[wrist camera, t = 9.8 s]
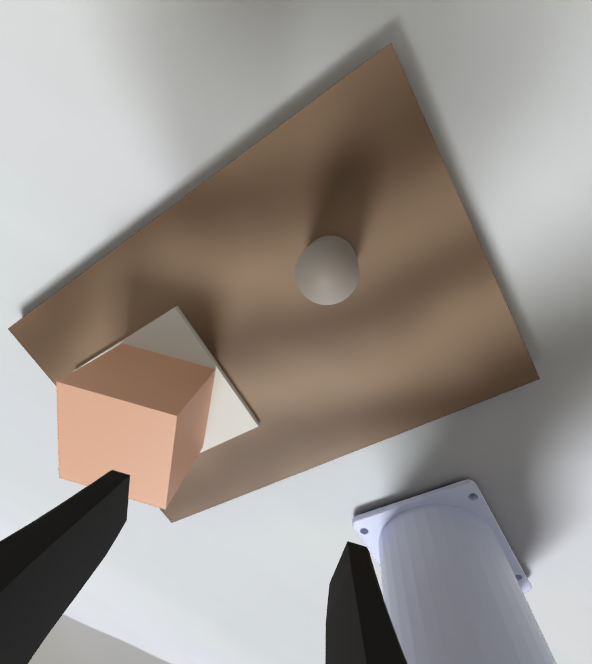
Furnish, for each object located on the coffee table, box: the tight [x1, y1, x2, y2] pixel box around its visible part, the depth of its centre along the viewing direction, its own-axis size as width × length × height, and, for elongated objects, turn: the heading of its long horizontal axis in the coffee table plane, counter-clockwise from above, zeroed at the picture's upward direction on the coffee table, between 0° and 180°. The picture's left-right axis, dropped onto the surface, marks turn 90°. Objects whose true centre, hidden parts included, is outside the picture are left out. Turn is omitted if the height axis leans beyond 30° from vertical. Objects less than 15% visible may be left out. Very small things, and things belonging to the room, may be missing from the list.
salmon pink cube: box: [56, 343, 216, 510], centre depth 17 cm, size 5×5×4 cm
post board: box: [8, 43, 540, 523], centre depth 17 cm, size 16×24×4 cm, turn 121°
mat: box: [73, 306, 260, 453], centre depth 19 cm, size 8×8×1 cm
